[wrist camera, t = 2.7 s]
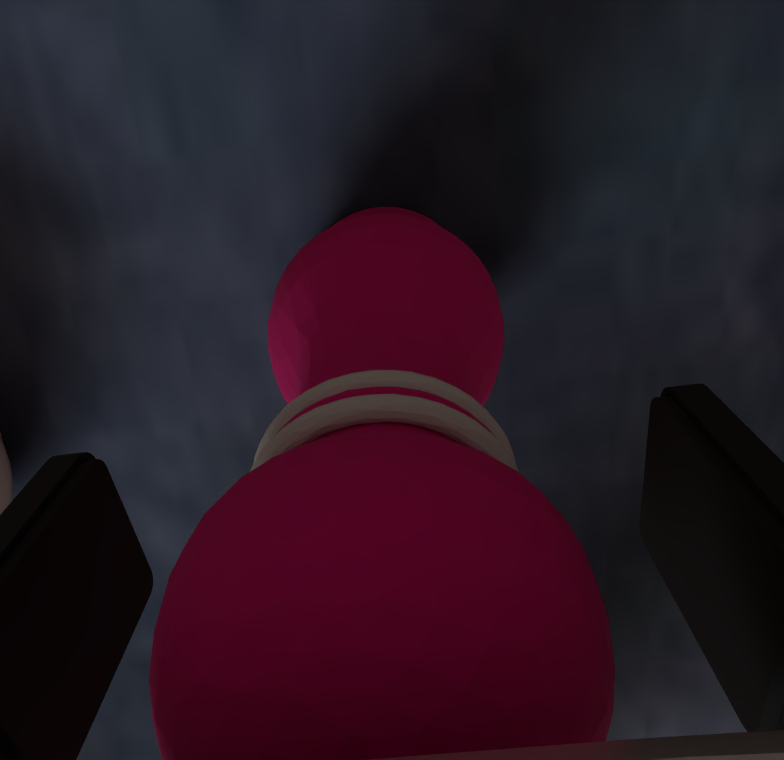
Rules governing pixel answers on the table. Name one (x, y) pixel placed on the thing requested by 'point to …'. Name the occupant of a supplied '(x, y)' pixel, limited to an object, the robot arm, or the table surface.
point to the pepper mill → (381, 537)
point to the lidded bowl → (5, 478)
